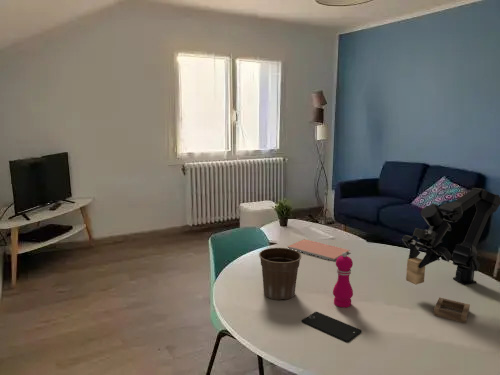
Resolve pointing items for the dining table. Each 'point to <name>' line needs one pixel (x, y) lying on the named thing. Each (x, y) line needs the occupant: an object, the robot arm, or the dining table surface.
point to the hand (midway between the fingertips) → (413, 265)
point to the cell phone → (332, 326)
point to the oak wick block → (415, 271)
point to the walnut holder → (451, 314)
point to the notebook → (318, 249)
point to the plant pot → (279, 272)
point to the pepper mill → (343, 281)
